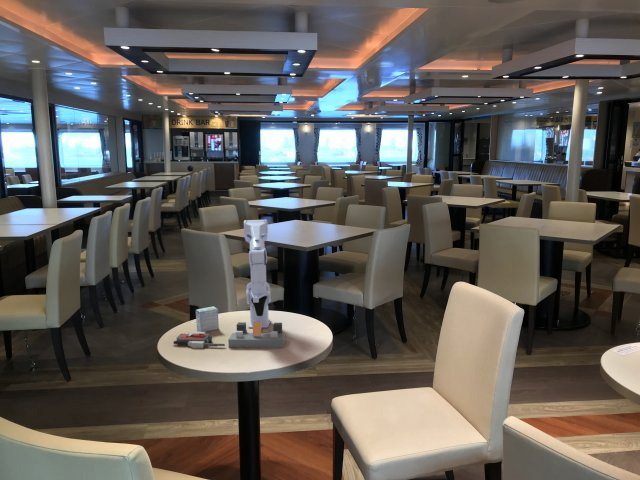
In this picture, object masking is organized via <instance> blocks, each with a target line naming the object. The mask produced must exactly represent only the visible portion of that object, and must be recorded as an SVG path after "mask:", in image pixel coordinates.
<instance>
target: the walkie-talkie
mask: <svg viewBox="0 0 640 480" xmlns="http://www.w3.org/2000/svg"><path fill="white" fill-rule="evenodd" d="M206 332H207V331H206ZM206 332H199V331H196V330H195V331H193V332H191V333H189V331H187V332H186V333H180V334H179V335H178V336H176V340H174V341H173V344H174V345H177V346H179V347H180V346H185V347H187V346H188V347H190V348H192V349H194V348H195V349H204V348H205V347H206V348H207V347H225V346H226V344H225V343H211V342H212V341H213V337H212V335H211V334H210V333H206Z"/></svg>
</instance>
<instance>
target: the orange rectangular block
mask: <svg viewBox="0 0 640 480" xmlns="http://www.w3.org/2000/svg"><path fill="white" fill-rule="evenodd" d="M262 329H263V328H262V322H253V328H252V333H253V336H261V333H262Z"/></svg>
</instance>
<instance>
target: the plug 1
mask: <svg viewBox="0 0 640 480" xmlns="http://www.w3.org/2000/svg"><path fill="white" fill-rule="evenodd" d="M236 331H243V333H248V329H247V322H246V321H244V322H241V321H238V322H237V324H236Z"/></svg>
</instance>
